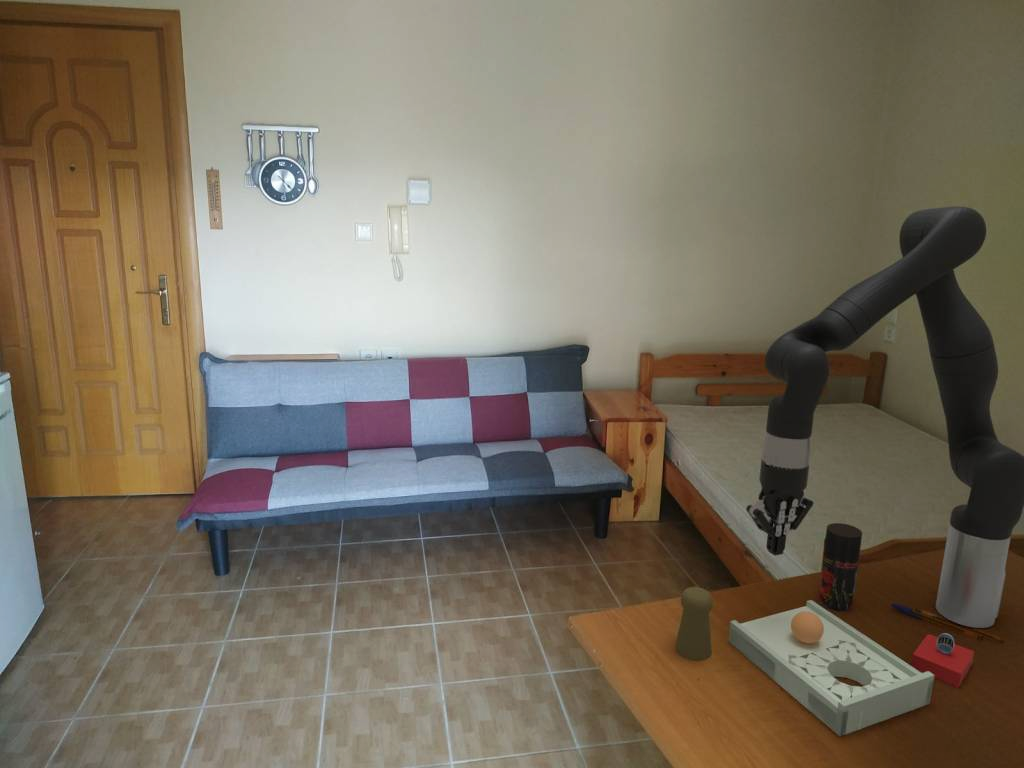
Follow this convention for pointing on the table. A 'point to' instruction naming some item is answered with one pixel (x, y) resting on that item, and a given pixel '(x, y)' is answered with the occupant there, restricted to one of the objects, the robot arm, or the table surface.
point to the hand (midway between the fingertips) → (774, 552)
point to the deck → (833, 670)
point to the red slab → (943, 659)
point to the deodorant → (839, 566)
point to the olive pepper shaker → (695, 625)
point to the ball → (807, 627)
